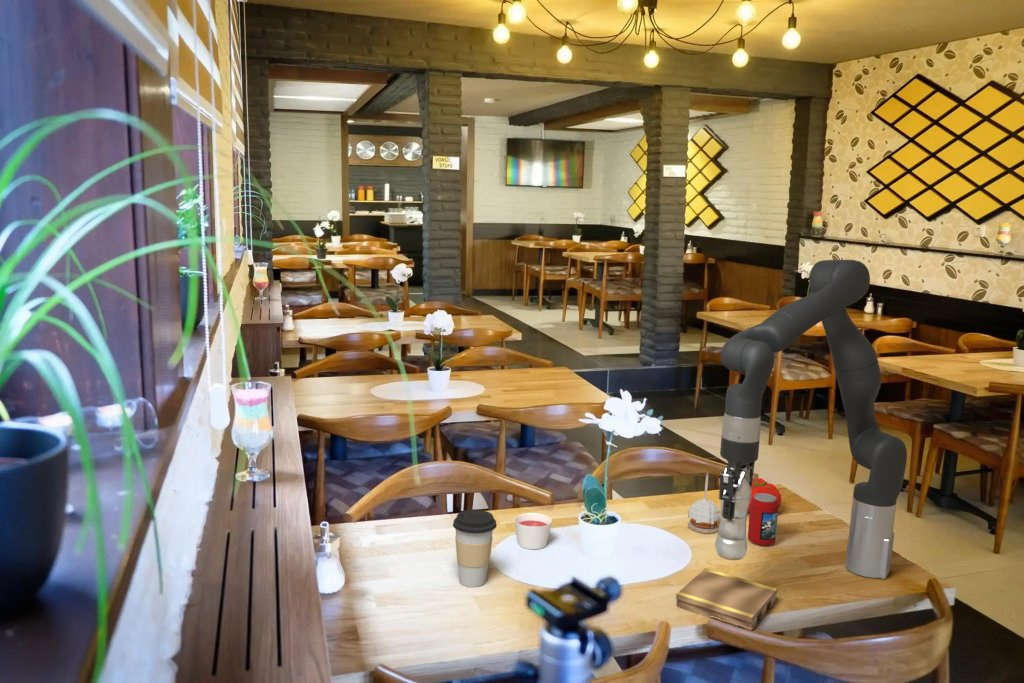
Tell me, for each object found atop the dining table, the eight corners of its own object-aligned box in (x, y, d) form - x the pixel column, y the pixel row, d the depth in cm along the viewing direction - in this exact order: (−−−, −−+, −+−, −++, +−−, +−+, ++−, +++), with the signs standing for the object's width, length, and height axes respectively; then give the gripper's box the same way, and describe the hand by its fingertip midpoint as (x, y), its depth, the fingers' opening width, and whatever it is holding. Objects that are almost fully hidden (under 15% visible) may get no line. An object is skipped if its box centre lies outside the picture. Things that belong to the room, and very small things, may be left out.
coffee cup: (446, 574, 183) (447, 510, 180) (486, 569, 186) (488, 506, 184) (458, 593, 174) (460, 526, 172) (500, 588, 177) (503, 521, 175)
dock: (775, 602, 176) (777, 588, 175) (750, 632, 163) (751, 617, 162) (704, 580, 185) (705, 567, 184) (675, 607, 172) (676, 593, 171)
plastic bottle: (749, 555, 173) (758, 464, 170) (741, 567, 168) (749, 472, 164) (719, 548, 177) (727, 458, 173) (710, 559, 171) (717, 466, 168)
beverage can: (769, 550, 203) (773, 503, 201) (743, 542, 207) (747, 497, 205) (779, 542, 208) (783, 496, 206) (753, 534, 212) (757, 490, 210)
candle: (557, 548, 199) (558, 523, 198) (523, 554, 195) (524, 529, 194) (540, 535, 207) (541, 511, 206) (507, 540, 203) (508, 515, 202)
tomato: (774, 523, 220) (777, 493, 219) (728, 513, 227) (730, 483, 225) (785, 509, 231) (788, 480, 230) (741, 500, 237) (743, 471, 236)
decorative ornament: (716, 524, 218) (721, 470, 216) (719, 536, 211) (724, 479, 208) (686, 522, 219) (690, 467, 217) (688, 533, 212) (693, 477, 209)
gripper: (746, 447, 160) (739, 528, 163) (770, 432, 171) (763, 508, 174) (709, 439, 164) (703, 519, 167) (735, 425, 176) (728, 500, 178)
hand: (734, 513), depth 170 cm, fingers closed on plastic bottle, 6 cm apart
